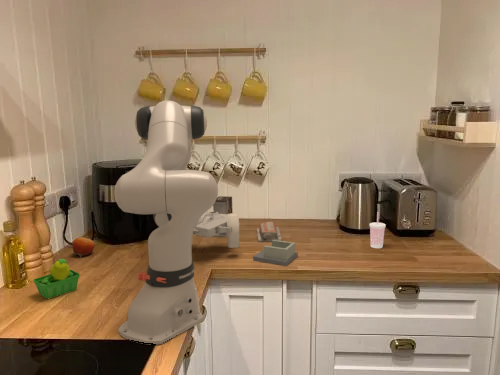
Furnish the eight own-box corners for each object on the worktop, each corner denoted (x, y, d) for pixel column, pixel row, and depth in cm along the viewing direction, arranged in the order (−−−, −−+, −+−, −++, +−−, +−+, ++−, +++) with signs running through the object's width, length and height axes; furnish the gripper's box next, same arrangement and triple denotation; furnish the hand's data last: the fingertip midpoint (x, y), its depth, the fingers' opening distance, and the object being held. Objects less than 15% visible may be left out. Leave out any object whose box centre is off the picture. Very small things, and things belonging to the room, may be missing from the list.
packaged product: (282, 231, 173) (257, 232, 173) (282, 242, 174) (258, 243, 174) (278, 220, 191) (256, 220, 191) (278, 230, 192) (256, 230, 192)
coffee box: (219, 230, 192) (218, 195, 189) (233, 231, 190) (232, 196, 187) (213, 236, 183) (212, 200, 180) (228, 237, 181) (227, 200, 178)
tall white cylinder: (235, 248, 154) (235, 216, 152) (225, 247, 156) (224, 215, 154) (241, 245, 158) (240, 214, 156) (231, 243, 160) (230, 212, 158)
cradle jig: (286, 266, 147) (286, 250, 146) (253, 260, 153) (253, 245, 152) (297, 256, 157) (297, 242, 156) (266, 251, 162) (266, 237, 161)
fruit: (63, 254, 159) (71, 233, 161) (79, 258, 165) (86, 239, 168) (78, 257, 155) (86, 236, 157) (94, 261, 162) (101, 241, 164)
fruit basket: (70, 283, 135) (66, 249, 133) (84, 290, 130) (81, 255, 128) (33, 295, 127) (29, 259, 125) (47, 303, 121) (43, 266, 119)
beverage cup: (382, 244, 169) (384, 210, 166) (386, 249, 163) (387, 213, 160) (367, 243, 169) (368, 209, 167) (370, 248, 163) (371, 213, 161)
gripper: (187, 222, 152) (220, 226, 146) (217, 210, 170) (247, 213, 164) (188, 239, 153) (220, 244, 147) (217, 225, 171) (247, 229, 165)
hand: (235, 228), depth 156 cm, fingers closed on tall white cylinder, 4 cm apart
